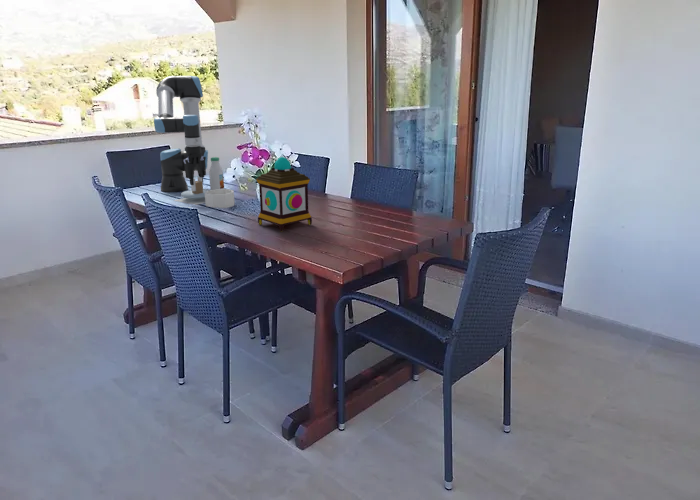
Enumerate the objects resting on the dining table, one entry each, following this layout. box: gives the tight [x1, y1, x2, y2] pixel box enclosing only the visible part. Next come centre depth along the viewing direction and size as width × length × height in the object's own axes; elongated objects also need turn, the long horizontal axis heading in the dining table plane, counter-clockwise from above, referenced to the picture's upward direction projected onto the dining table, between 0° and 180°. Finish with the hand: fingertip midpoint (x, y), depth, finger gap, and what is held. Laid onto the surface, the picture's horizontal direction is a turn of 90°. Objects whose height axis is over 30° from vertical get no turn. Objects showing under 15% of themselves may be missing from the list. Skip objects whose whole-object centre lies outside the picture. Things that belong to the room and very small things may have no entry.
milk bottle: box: [208, 156, 225, 190], centre depth 286 cm, size 8×8×20 cm
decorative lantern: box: [255, 156, 313, 233], centre depth 220 cm, size 20×20×30 cm
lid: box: [180, 180, 210, 198], centre depth 268 cm, size 17×17×7 cm
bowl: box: [205, 188, 235, 209], centre depth 259 cm, size 14×14×7 cm
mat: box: [173, 197, 206, 206], centre depth 270 cm, size 18×18×1 cm
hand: (197, 189), depth 269 cm, fingers closed on lid, 4 cm apart
